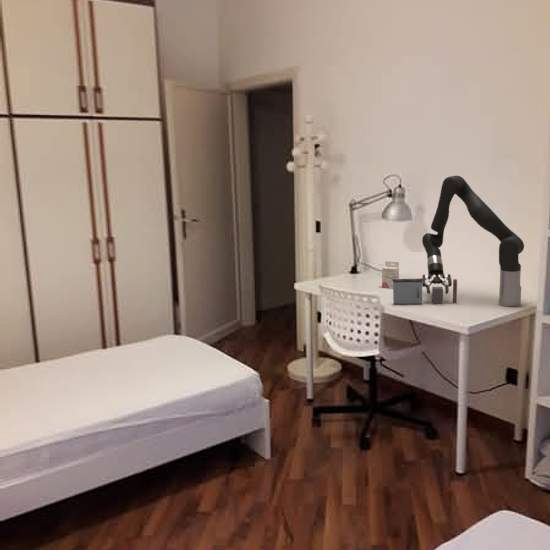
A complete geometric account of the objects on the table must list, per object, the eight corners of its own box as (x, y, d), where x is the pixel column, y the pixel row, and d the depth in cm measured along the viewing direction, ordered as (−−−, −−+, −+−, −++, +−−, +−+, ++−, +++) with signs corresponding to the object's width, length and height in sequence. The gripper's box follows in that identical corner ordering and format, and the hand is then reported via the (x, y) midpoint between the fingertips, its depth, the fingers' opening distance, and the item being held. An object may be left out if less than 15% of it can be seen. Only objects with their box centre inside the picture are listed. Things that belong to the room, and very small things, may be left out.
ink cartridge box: (381, 287, 329) (381, 262, 326) (385, 286, 333) (385, 261, 330) (395, 289, 325) (395, 263, 322) (399, 287, 329) (399, 261, 326)
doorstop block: (441, 302, 292) (441, 286, 290) (442, 304, 287) (443, 288, 286) (432, 302, 293) (432, 286, 291) (433, 304, 288) (433, 289, 286)
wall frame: (455, 302, 290) (456, 277, 287) (457, 304, 287) (457, 278, 284) (392, 302, 295) (392, 278, 292) (392, 304, 291) (392, 279, 289)
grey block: (421, 302, 290) (422, 281, 288) (422, 304, 288) (422, 282, 286) (393, 303, 292) (393, 281, 290) (393, 304, 290) (393, 282, 288)
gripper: (421, 262, 294) (423, 289, 285) (450, 261, 292) (453, 288, 283) (420, 270, 300) (422, 297, 292) (448, 270, 298) (451, 296, 290)
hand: (437, 293), depth 288 cm, fingers open, 8 cm apart
